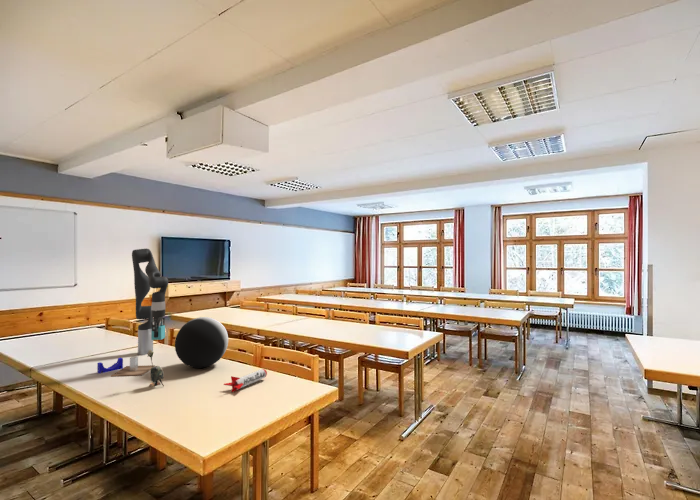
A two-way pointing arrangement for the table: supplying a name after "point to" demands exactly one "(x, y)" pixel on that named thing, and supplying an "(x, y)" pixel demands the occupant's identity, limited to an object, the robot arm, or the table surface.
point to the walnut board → (138, 372)
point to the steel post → (134, 363)
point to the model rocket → (246, 379)
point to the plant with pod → (155, 372)
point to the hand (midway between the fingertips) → (158, 336)
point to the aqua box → (159, 333)
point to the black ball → (201, 342)
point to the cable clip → (114, 367)
